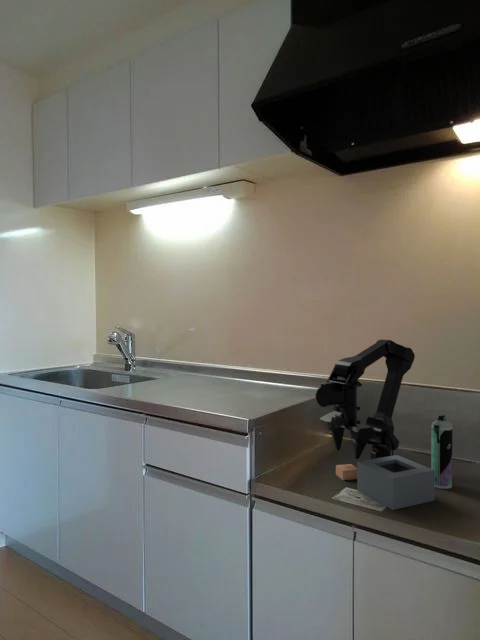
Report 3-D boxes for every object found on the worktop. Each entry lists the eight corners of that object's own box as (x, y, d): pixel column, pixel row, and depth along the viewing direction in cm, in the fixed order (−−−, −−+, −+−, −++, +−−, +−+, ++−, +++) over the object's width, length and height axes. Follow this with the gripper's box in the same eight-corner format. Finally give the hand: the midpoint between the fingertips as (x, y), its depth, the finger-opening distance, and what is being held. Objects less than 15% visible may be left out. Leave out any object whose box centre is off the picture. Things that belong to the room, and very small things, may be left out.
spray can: (450, 490, 131) (451, 418, 131) (429, 486, 134) (429, 416, 134) (453, 484, 136) (453, 414, 135) (433, 480, 139) (433, 412, 138)
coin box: (396, 482, 137) (396, 454, 137) (434, 500, 125) (434, 470, 124) (357, 490, 132) (357, 461, 132) (392, 510, 119) (392, 478, 119)
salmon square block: (351, 473, 146) (351, 463, 145) (358, 479, 141) (358, 469, 141) (335, 474, 144) (335, 465, 144) (342, 480, 140) (342, 470, 139)
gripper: (307, 399, 147) (307, 449, 148) (343, 411, 130) (344, 468, 131) (337, 396, 152) (337, 444, 152) (376, 407, 135) (376, 462, 135)
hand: (347, 454), depth 142 cm, fingers open, 9 cm apart
